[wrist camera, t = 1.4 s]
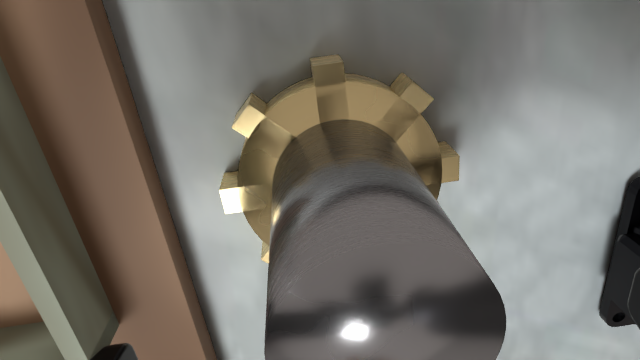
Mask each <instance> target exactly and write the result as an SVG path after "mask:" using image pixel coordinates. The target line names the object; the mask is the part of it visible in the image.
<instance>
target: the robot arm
mask: <svg viewBox="0 0 640 360" xmlns="http://www.w3.org/2000/svg"><path fill="white" fill-rule="evenodd" d="M599 313H600V317H601V318H602V319H603V320H604V321H605V322H606V323H607V324H608V325H609V326H611V327H618V326H625V325H631V324H636V325H637V326H638V328H639V329H640V177H638V178H636V179H635V180H633V182H632V183H631V184H630V185H629V187H628V189H627V193H626V197H625V202H624V206H623V211H622V215H621V219H620V224H619V228H618V233H617V237H616V241H615V246H614V250H613V255H612V259H611V263H610V268H609V272H608V277H607V281H606V285H605V290H604V294H603V298H602V303H601V307H600V312H599ZM90 360H138V358H137V355H136V353H135V351H134V349H133V347H132V345H130V344H129V343H120V344H114V345H108V346H105V347H103V348H102V349H101V350H99V351H98V352H97V353H96V354H95V355H94V356H93V357H92V358H91V359H90Z"/></svg>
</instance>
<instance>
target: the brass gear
mask: <svg viewBox="0 0 640 360" xmlns="http://www.w3.org/2000/svg"><path fill="white" fill-rule="evenodd" d="M310 63H311V71H312V77H310V78H307V79H305V80H302V81H299V82H297V83H295V84H293V85H291V86H289V87H287V88H286V89H284V90H283V91H281V92H280V93H278V94H277V95H276V96H275V97H273V98H272V99H271V100H270V101H269V102H268V103H265V102H264V101H262V100H261V99H260V98H258V97H257V96H255V95H254V94H253V93H251V94H250V96H249V97H248V99H247V100H246V101H245V103H244V104H243V106H242V107H241V108H240V110H239V111H238V113H237V114H236V116H235V119H234V122H233V125H232V128H233V129H235V130H236V131H238V132H239V133H241V134H242V135H244V136H245V137H246V138H245V141H244V145H243V149H242V153H241V157H240V161H239V167H238V171H233V172H226V173H224V176H223V179H222V182H221V186H220V189H219V191H220V195H221V199H222V203H223V207H224V211H225V214H229V213H236V212H244V215H245V217H246V219H247V221H248V223H249V224H250V226H251V227H252V229H253V230H254V232H255V233H256V234H257V235H258V236H259V237H260V238H261V240H262V241H263V243H262V256H261V260H263V261H265V262H267V263H268V264H269V267H268V287H267V308H266V328H265V360H496V358H497V356H498V354H499V352H500V349H501V347H502V344H503V341H504V336H505V331H506V314H505V308H504V304H503V301H502V299H501V296H500V294H499V292H498V290H497V289H496V287H495V285H494V284H493V282H492V281H491V279H490V278H489V276H488V275H487V273H486V272H485V271H484V269H483V268H482V266H481V265H480V263H479V262H478V260H477V259H476V257H475V256H474V254H473V253H472V252H471V250H470V249H469V247H468V246H467V244H466V243H465V241H464V240H463V238H462V237H461V236H460V234H459V233H458V231H457V230H456V228H455V227H454V225H453V224H452V222H451V221H450V220H449V218H448V217H447V215H446V214H445V212H444V211H443V209H442V208H441V206H440V205H439V203H438V202H437V198H438V195H439V191H440V187H441V183H444V182H451V181H458V180H459V155H458V154H457V153H456V152H455V151H454V150H453V149H452V148H451V147H450V146H449V145H448V144H447V143H446V142H445V141H444V142H437V140H436V137H435V135H434V133H433V131H432V129H431V128H430V126H429V124H428V123H427V121H426V120H425V119H424V118H423V116H422V115H421V113H422V112H423V111H424V110H425V109H426V108H427V107H428V106H429V104H430V103H431V102H432V101H433V100H434V98H432V97H431V96H430V95H429V94H428V93H426V92H425V91H424V90H423V89H422V88H421V87H419V86H418V85H417V84H416V83H415V82H414V81H412V80H411V79H410V78H409V77H407V76H406V75H405V74H404V73H402V72H401V73H400V75H399V76H398V77H397V78H396V79H395V81H394V82H393V83H392V84H391V85H390V86H388V85H386V84H384V83H382V82H380V81H378V80H375V79H372V78H369V77H366V76H362V75H356V74H348V73H345V72H344V62H343V61H342V59H341V58H340V56H339V55H338V54H336V55H329V56H322V57H314V58H310Z"/></svg>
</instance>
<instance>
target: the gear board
mask: <svg viewBox="0 0 640 360" xmlns="http://www.w3.org/2000/svg"><path fill="white" fill-rule="evenodd" d="M120 343H129V344H130V345H132V347H133V349H134V351H135V353H136V355H137V358H138V360H217V357H216V354H215V351H214V348H213V345H212V342H211V339H210V336H209V332H208V329H207V326H206V323H205V320H204V317H203V314H202V311H201V308H200V304H199V301H198V298H197V295H196V292H195V289H194V286H193V283H192V280H191V276H190V273H189V270H188V267H187V264H186V261H185V258H184V255H183V252H182V248H181V245H180V242H179V239H178V236H177V233H176V230H175V227H174V224H173V220H172V217H171V214H170V211H169V208H168V205H167V202H166V199H165V196H164V192H163V189H162V186H161V183H160V180H159V177H158V174H157V171H156V167H155V164H154V161H153V158H152V155H151V152H150V149H149V146H148V143H147V139H146V136H145V133H144V130H143V127H142V124H141V121H140V118H139V115H138V111H137V108H136V105H135V102H134V99H133V96H132V93H131V90H130V87H129V83H128V80H127V77H126V74H125V71H124V68H123V65H122V62H121V59H120V55H119V52H118V49H117V46H116V43H115V40H114V37H113V34H112V31H111V27H110V24H109V21H108V18H107V15H106V12H105V9H104V6H103V3H102V0H0V360H90V359H91V358H92V357H93V356H94V355H95V354H96V353H97V352H98V351H99V350H101V349H102V348H103V347H105V346H108V345H114V344H120Z"/></svg>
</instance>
